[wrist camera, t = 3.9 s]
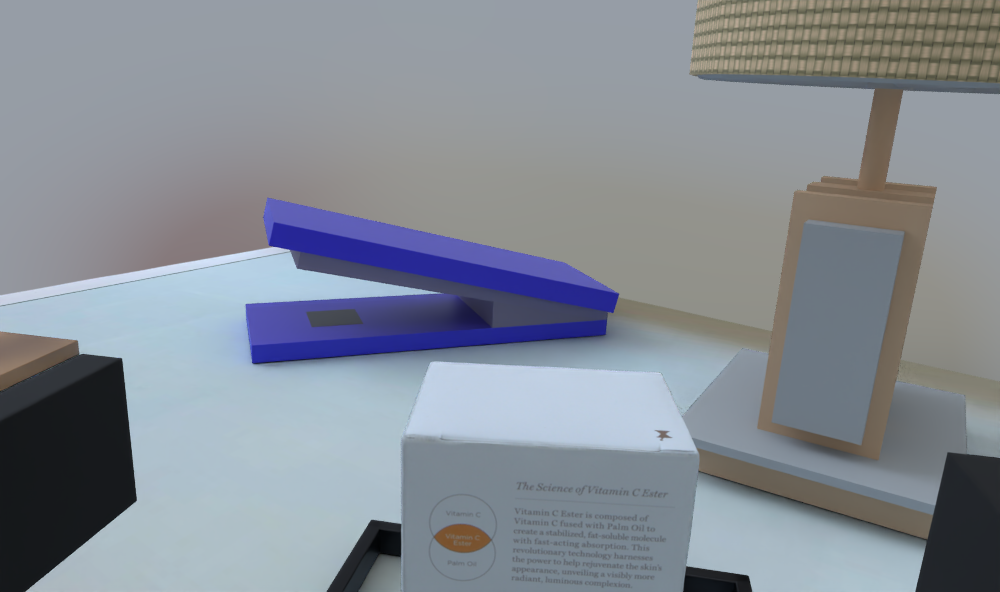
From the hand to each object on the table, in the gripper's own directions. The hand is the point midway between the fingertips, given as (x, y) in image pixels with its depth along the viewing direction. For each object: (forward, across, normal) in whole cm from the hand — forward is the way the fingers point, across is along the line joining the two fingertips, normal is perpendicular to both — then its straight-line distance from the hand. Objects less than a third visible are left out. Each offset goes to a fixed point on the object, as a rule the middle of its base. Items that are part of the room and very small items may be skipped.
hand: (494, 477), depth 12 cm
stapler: (+45, -13, -13) cm, 49 cm away
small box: (+10, 0, -13) cm, 17 cm away
